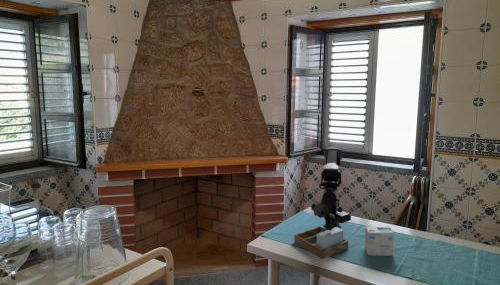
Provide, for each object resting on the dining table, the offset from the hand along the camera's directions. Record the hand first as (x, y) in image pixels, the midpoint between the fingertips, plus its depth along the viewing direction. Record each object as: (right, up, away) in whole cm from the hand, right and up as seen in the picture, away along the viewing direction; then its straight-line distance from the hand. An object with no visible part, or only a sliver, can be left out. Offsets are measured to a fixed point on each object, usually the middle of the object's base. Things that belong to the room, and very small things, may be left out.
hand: (330, 230), depth 156 cm
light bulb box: (+21, -10, -1) cm, 23 cm away
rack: (-3, -9, +7) cm, 11 cm away
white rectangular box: (0, -9, +2) cm, 9 cm away
